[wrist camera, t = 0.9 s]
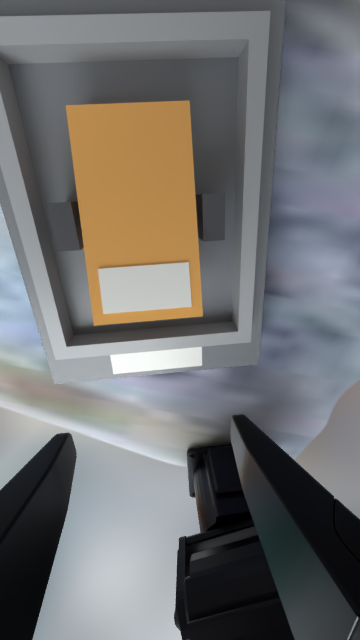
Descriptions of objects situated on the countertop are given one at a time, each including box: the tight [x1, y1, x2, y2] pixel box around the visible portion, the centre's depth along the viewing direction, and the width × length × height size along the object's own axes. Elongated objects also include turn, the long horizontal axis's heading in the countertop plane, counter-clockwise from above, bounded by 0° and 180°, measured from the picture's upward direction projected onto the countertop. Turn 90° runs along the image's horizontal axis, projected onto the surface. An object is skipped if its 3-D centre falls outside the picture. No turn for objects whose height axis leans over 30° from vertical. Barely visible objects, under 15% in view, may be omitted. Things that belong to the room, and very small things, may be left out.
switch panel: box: [0, 0, 286, 384], centre depth 15 cm, size 20×14×6 cm
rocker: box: [66, 100, 203, 326], centre depth 12 cm, size 9×5×2 cm, turn 3°
